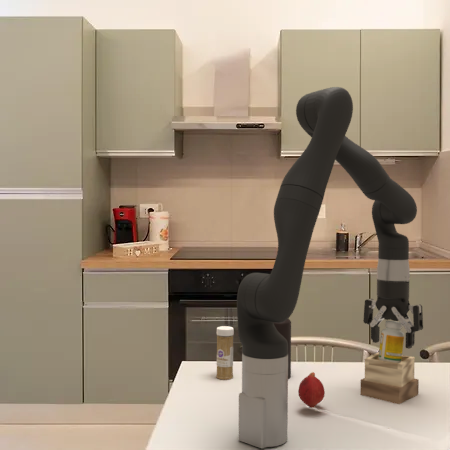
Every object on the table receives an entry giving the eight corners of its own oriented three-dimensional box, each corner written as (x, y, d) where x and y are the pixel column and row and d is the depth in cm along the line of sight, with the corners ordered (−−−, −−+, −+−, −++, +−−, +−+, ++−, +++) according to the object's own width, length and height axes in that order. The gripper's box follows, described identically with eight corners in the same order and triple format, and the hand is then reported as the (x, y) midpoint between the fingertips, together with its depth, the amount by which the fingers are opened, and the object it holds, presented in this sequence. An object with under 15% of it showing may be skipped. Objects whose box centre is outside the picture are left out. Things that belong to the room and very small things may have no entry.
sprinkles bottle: (213, 379, 154) (213, 328, 153) (219, 374, 158) (220, 325, 158) (230, 381, 152) (230, 329, 152) (235, 376, 156) (236, 326, 156)
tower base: (398, 405, 134) (399, 388, 134) (360, 396, 141) (360, 379, 141) (418, 395, 142) (418, 379, 142) (380, 387, 149) (381, 371, 148)
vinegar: (276, 382, 151) (277, 305, 150) (260, 376, 156) (260, 302, 156) (296, 378, 155) (296, 303, 154) (279, 372, 160) (279, 299, 160)
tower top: (401, 387, 135) (401, 364, 135) (364, 380, 140) (364, 358, 140) (414, 378, 142) (414, 357, 142) (378, 372, 148) (378, 351, 148)
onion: (304, 413, 128) (304, 376, 128) (294, 404, 134) (294, 369, 134) (328, 410, 130) (329, 374, 130) (317, 402, 135) (318, 368, 135)
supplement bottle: (373, 358, 142) (377, 319, 143) (388, 359, 145) (392, 320, 146) (390, 363, 138) (395, 323, 138) (406, 363, 141) (410, 324, 141)
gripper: (358, 276, 143) (357, 342, 143) (414, 281, 133) (413, 352, 133) (373, 274, 148) (372, 338, 148) (428, 279, 138) (427, 347, 139)
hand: (392, 345), depth 141 cm, fingers open, 8 cm apart
